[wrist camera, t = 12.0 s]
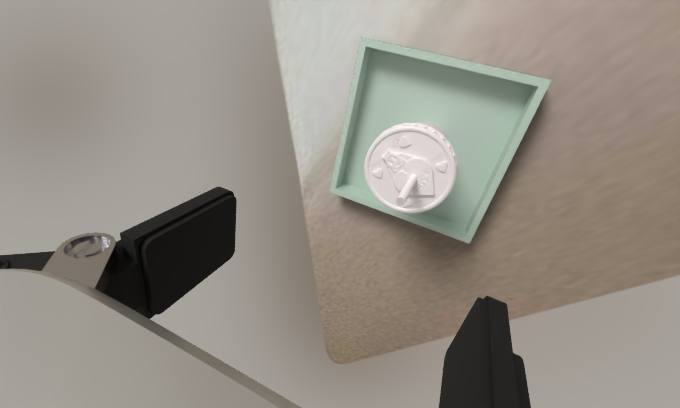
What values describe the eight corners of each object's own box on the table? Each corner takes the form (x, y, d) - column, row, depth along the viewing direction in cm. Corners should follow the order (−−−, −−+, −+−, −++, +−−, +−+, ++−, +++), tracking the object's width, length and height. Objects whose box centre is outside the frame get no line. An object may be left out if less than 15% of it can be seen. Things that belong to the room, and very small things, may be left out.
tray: (544, 78, 24) (551, 80, 22) (469, 231, 32) (469, 243, 29) (369, 39, 28) (360, 37, 26) (338, 184, 35) (329, 191, 33)
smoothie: (428, 186, 31) (400, 263, 19) (380, 145, 31) (321, 196, 19) (478, 137, 27) (480, 193, 15) (422, 92, 27) (383, 113, 16)
